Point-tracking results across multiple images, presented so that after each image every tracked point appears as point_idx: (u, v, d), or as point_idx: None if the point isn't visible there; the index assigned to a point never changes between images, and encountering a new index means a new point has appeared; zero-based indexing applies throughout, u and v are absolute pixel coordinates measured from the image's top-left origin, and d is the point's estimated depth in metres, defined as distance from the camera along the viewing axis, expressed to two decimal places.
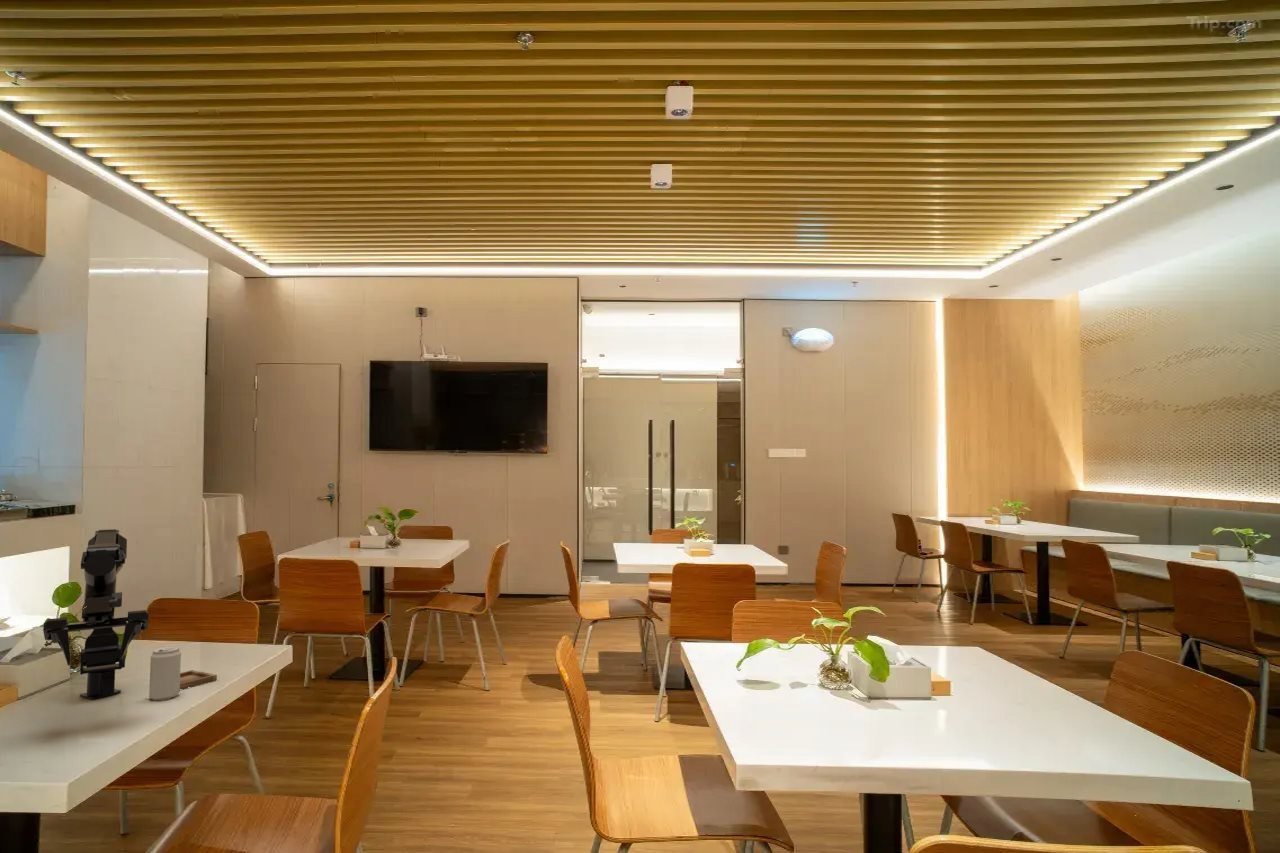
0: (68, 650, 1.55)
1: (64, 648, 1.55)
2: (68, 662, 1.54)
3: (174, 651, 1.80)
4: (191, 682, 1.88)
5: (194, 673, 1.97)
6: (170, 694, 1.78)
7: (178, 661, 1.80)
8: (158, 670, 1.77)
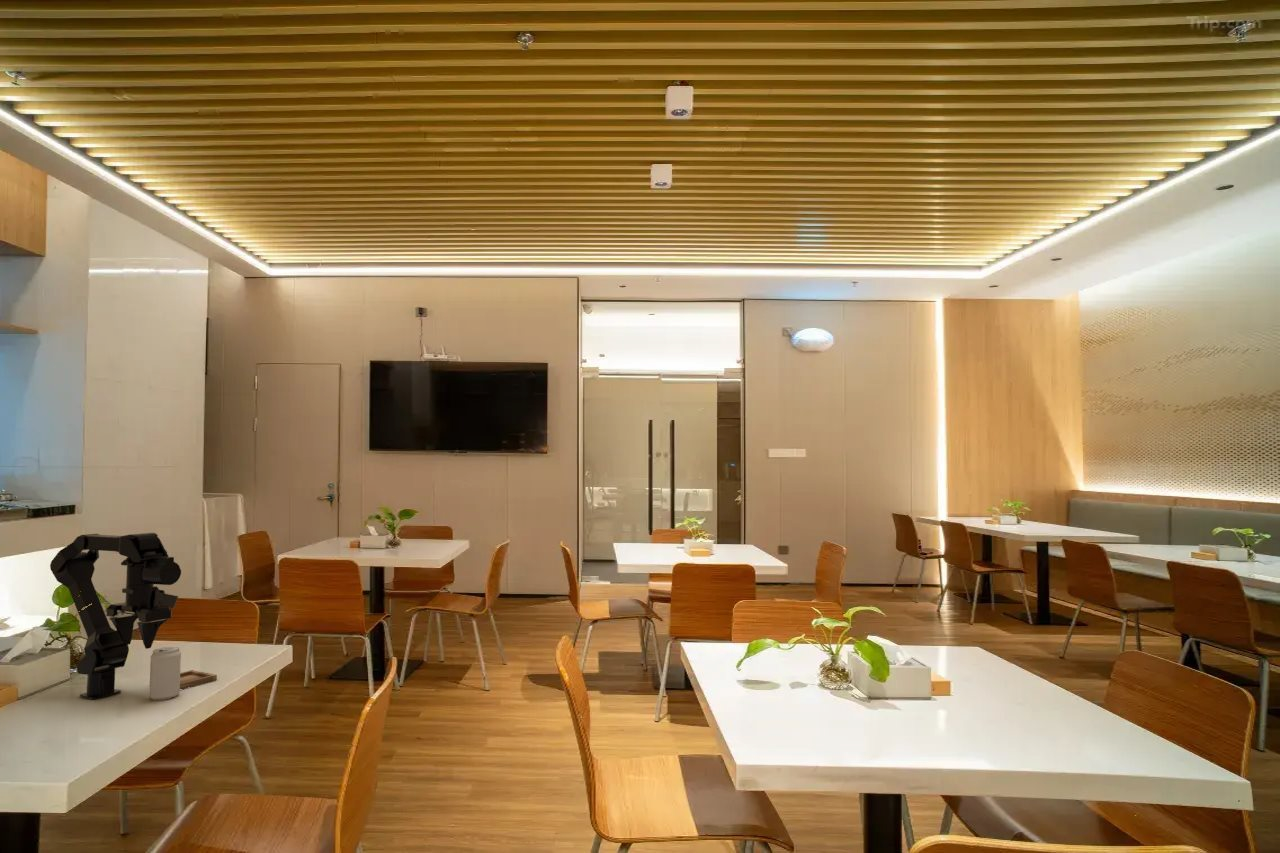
0: None
1: None
2: None
3: (174, 651, 1.80)
4: (191, 682, 1.88)
5: (194, 673, 1.97)
6: (170, 694, 1.78)
7: (178, 661, 1.80)
8: (158, 670, 1.77)
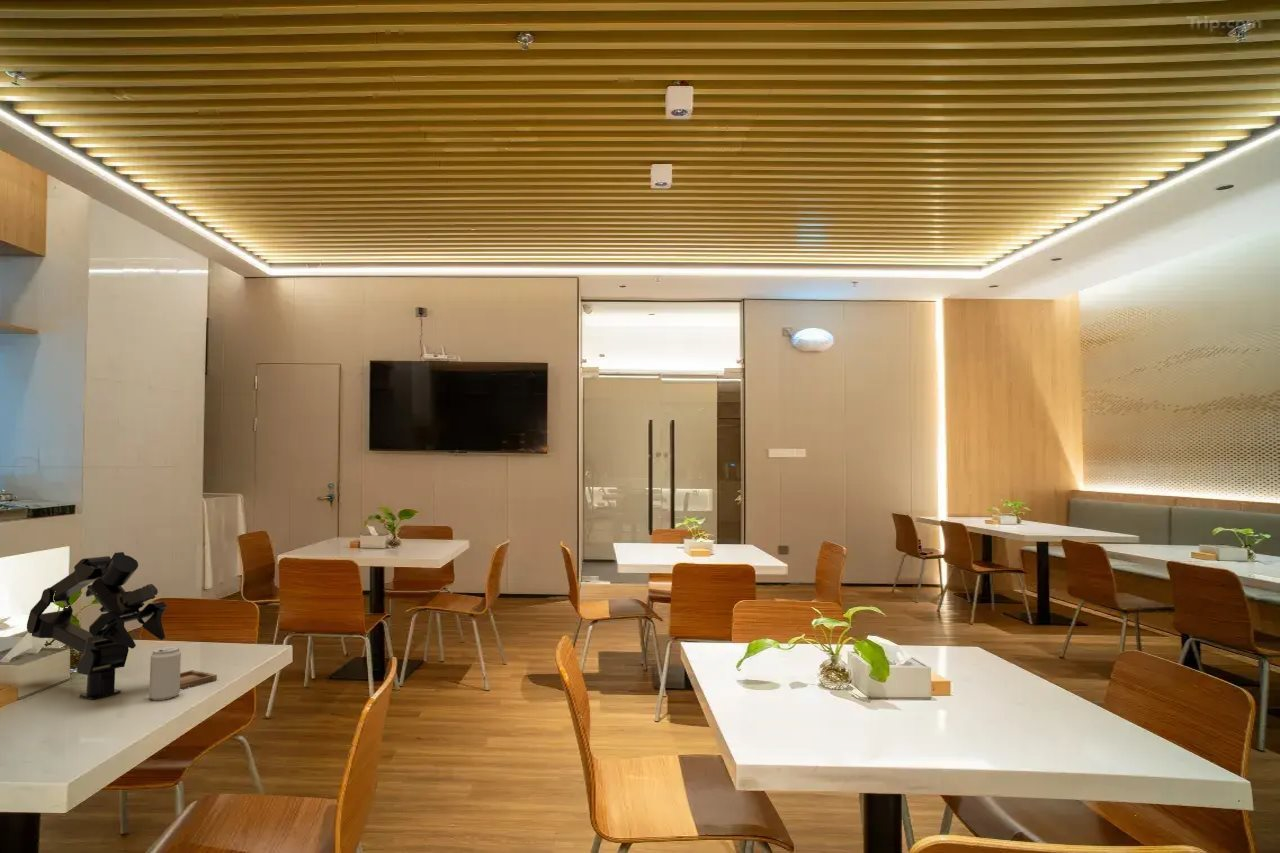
0: (129, 635, 1.77)
1: (126, 634, 1.76)
2: (134, 644, 1.76)
3: (174, 651, 1.80)
4: (191, 682, 1.88)
5: (194, 673, 1.97)
6: (170, 694, 1.78)
7: (178, 661, 1.80)
8: (158, 670, 1.77)
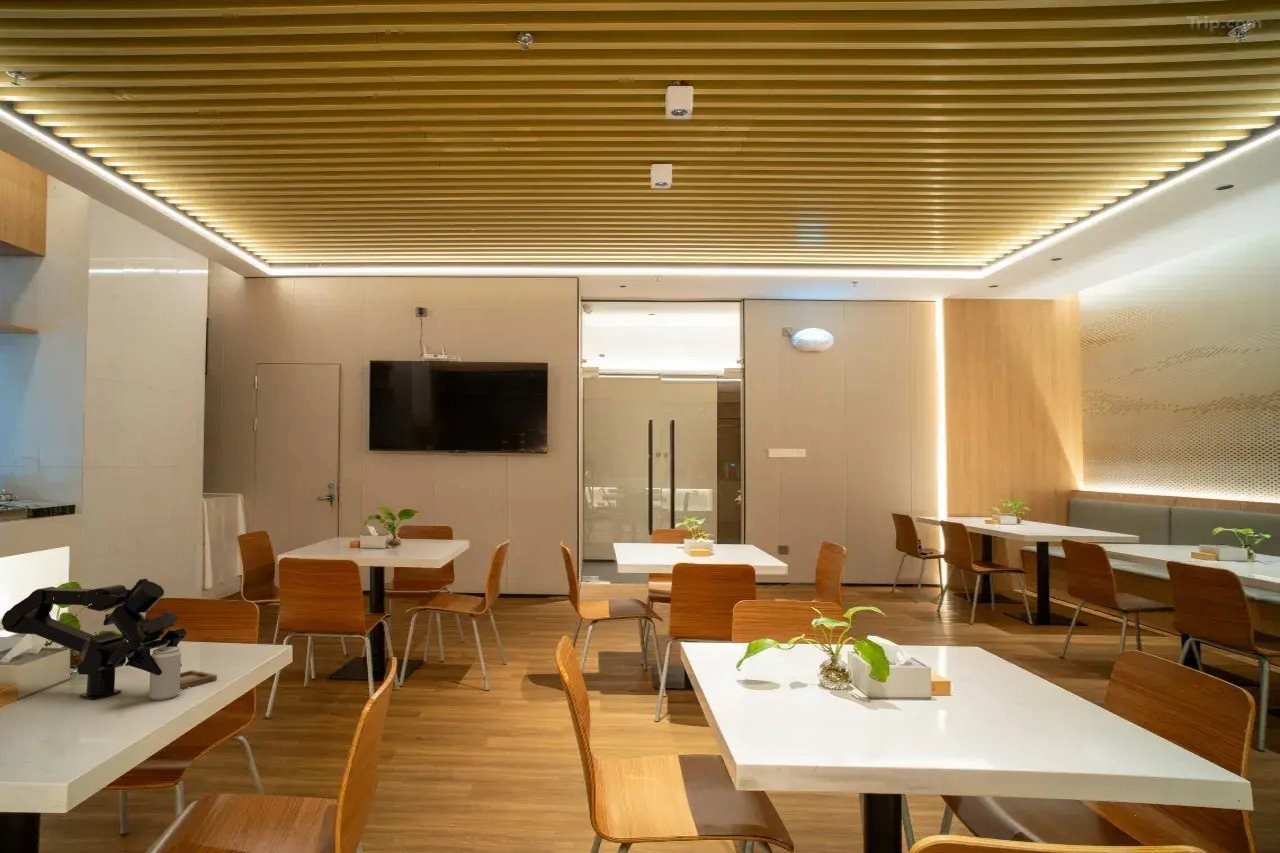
0: (155, 662, 1.77)
1: (152, 661, 1.76)
2: (161, 671, 1.77)
3: (174, 651, 1.80)
4: (191, 682, 1.88)
5: (194, 673, 1.97)
6: (170, 694, 1.78)
7: (178, 661, 1.80)
8: None
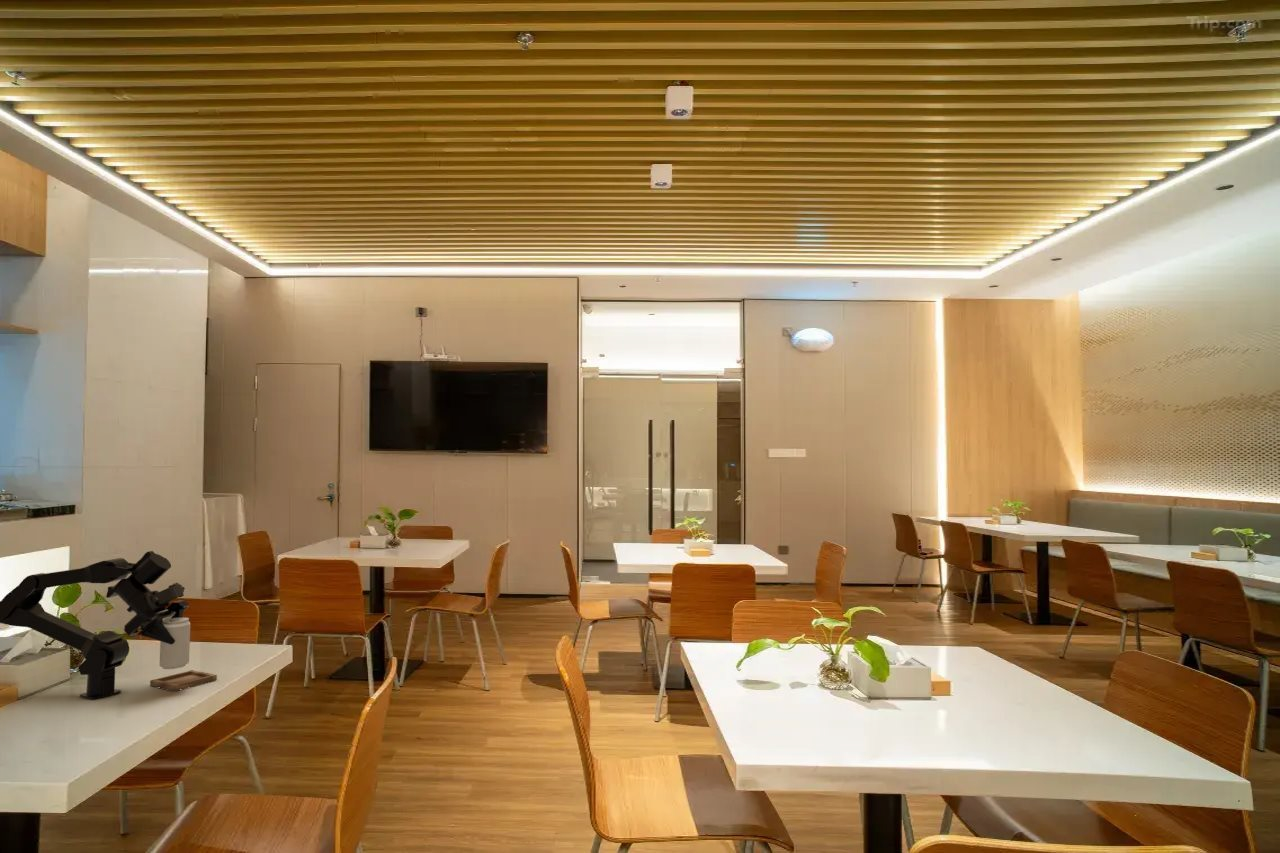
0: (168, 632, 1.81)
1: (165, 631, 1.80)
2: (174, 640, 1.81)
3: (185, 621, 1.84)
4: (191, 682, 1.88)
5: (194, 673, 1.97)
6: (182, 662, 1.82)
7: (189, 631, 1.85)
8: None
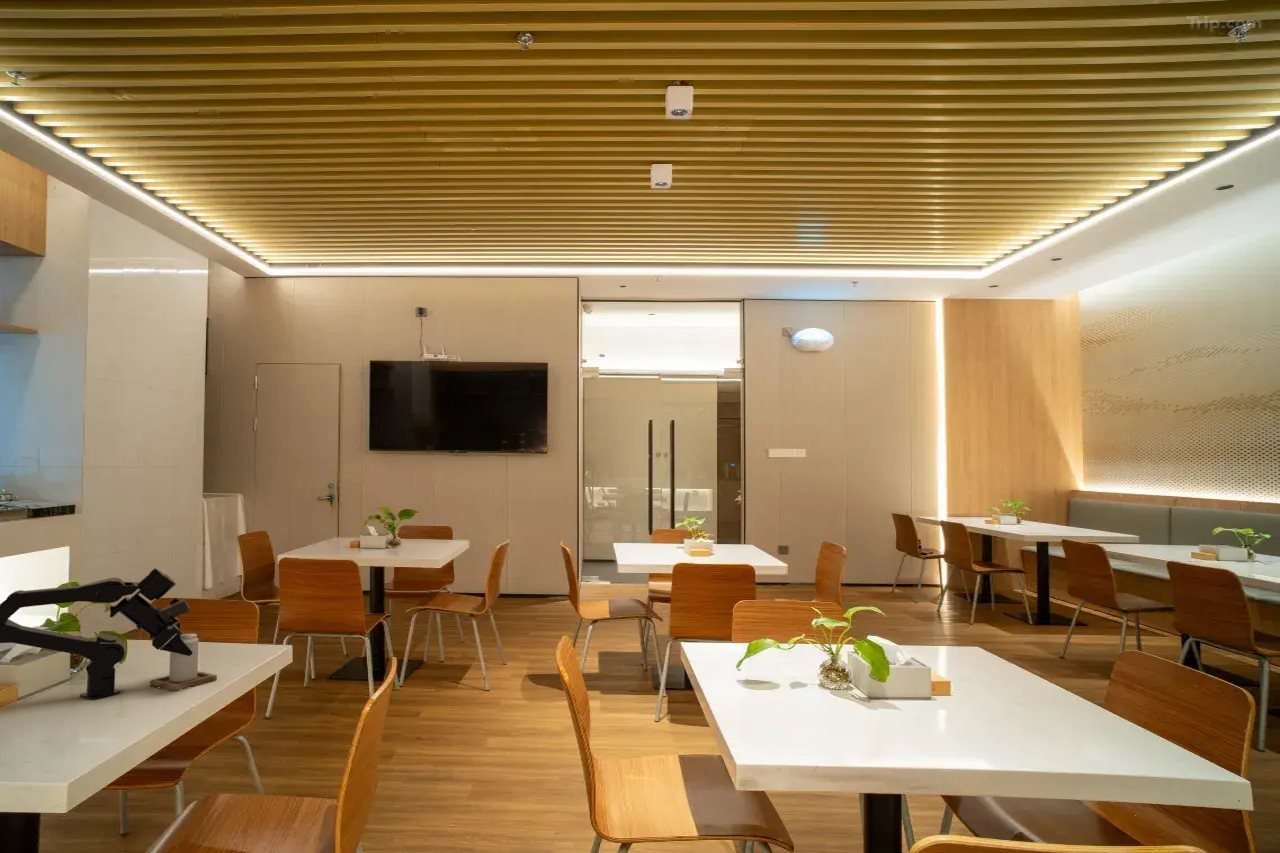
0: None
1: (184, 643, 1.88)
2: (192, 652, 1.89)
3: (196, 636, 1.94)
4: (191, 682, 1.88)
5: None
6: (196, 675, 1.92)
7: None
8: None
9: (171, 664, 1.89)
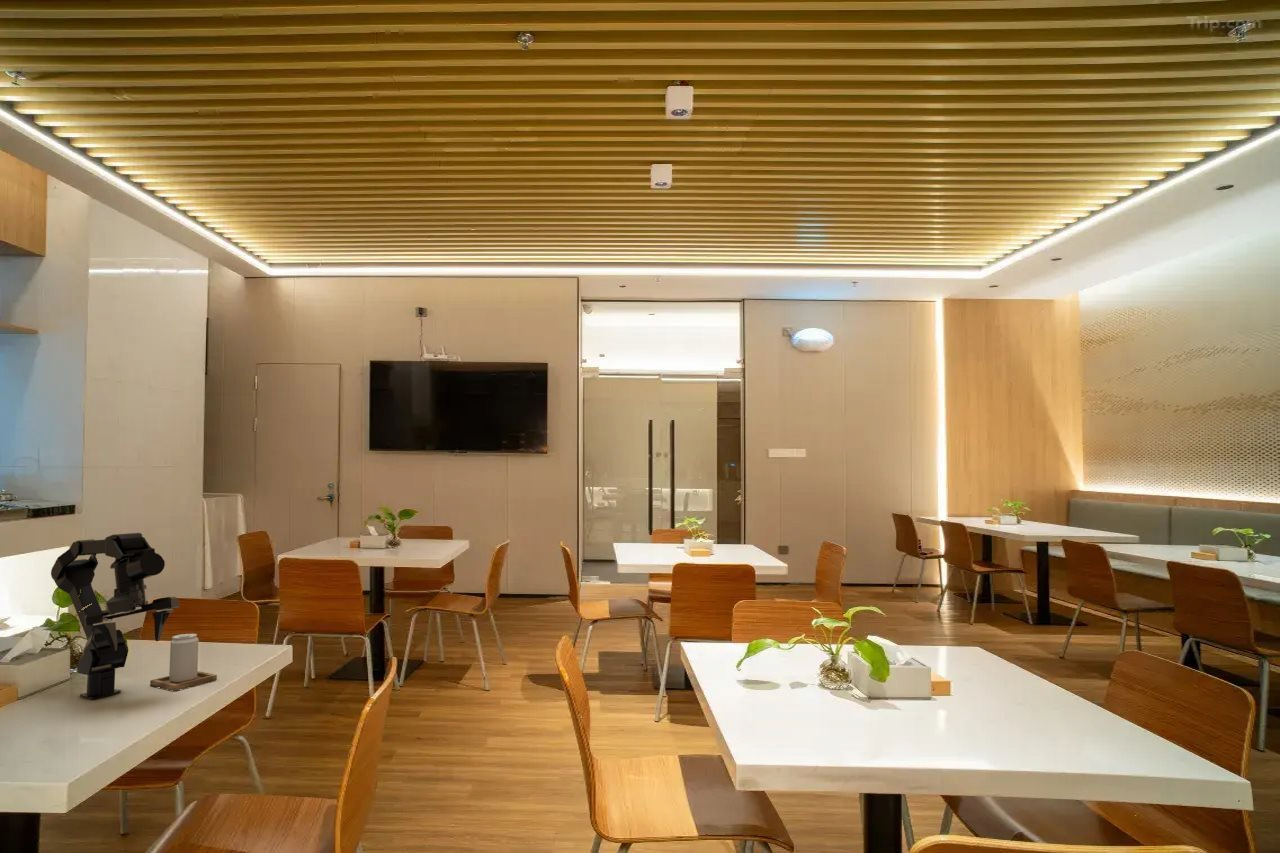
0: (111, 639, 1.75)
1: (107, 638, 1.75)
2: (113, 649, 1.75)
3: (196, 636, 1.94)
4: (191, 682, 1.88)
5: None
6: (196, 675, 1.92)
7: None
8: (188, 654, 1.90)
9: (171, 664, 1.89)
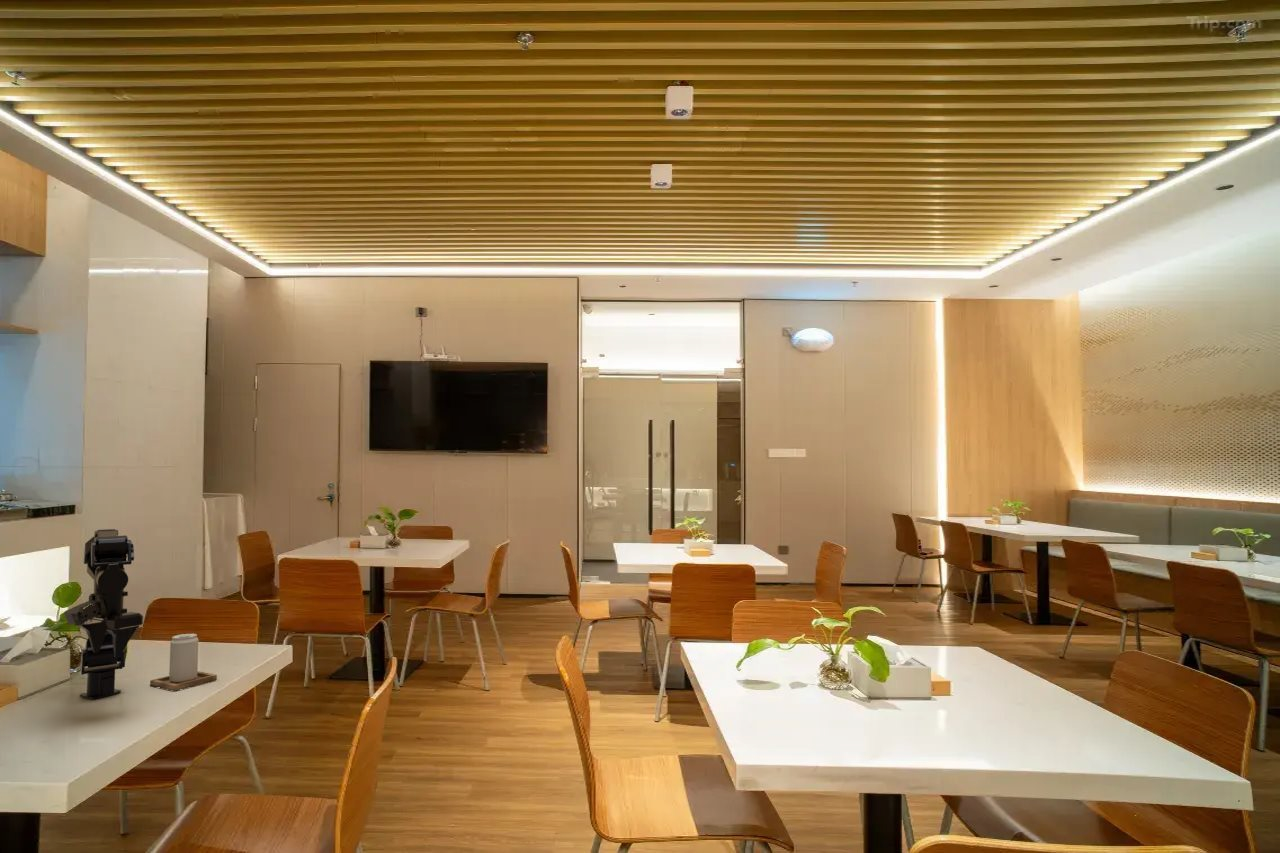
0: (91, 641, 1.73)
1: (89, 638, 1.73)
2: (93, 651, 1.73)
3: (196, 636, 1.94)
4: (191, 682, 1.88)
5: None
6: (195, 675, 1.92)
7: None
8: (188, 654, 1.90)
9: (171, 664, 1.89)
